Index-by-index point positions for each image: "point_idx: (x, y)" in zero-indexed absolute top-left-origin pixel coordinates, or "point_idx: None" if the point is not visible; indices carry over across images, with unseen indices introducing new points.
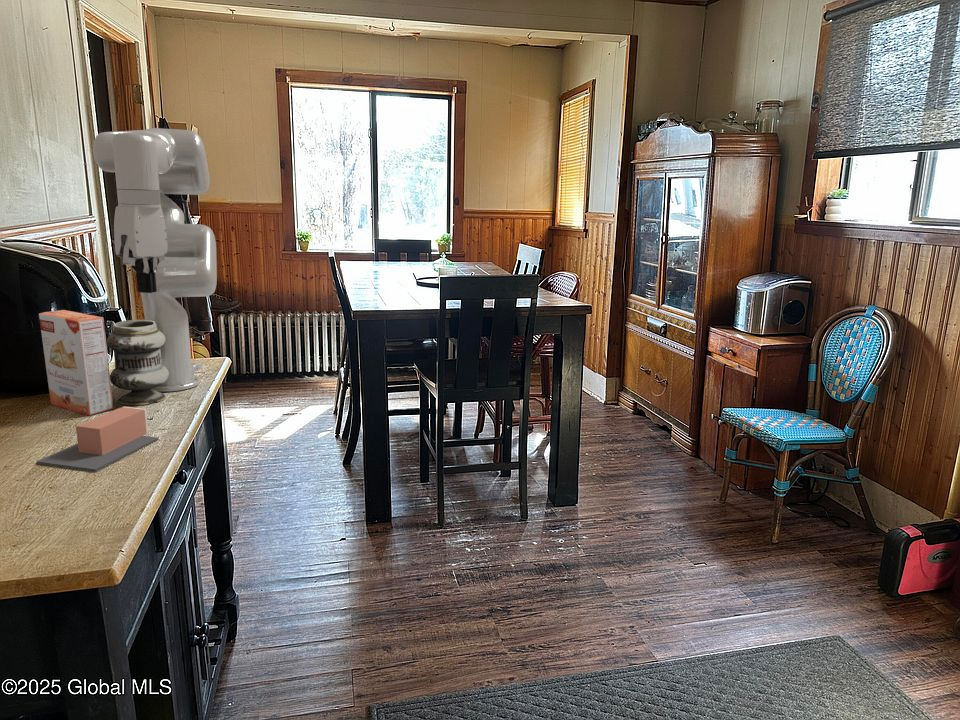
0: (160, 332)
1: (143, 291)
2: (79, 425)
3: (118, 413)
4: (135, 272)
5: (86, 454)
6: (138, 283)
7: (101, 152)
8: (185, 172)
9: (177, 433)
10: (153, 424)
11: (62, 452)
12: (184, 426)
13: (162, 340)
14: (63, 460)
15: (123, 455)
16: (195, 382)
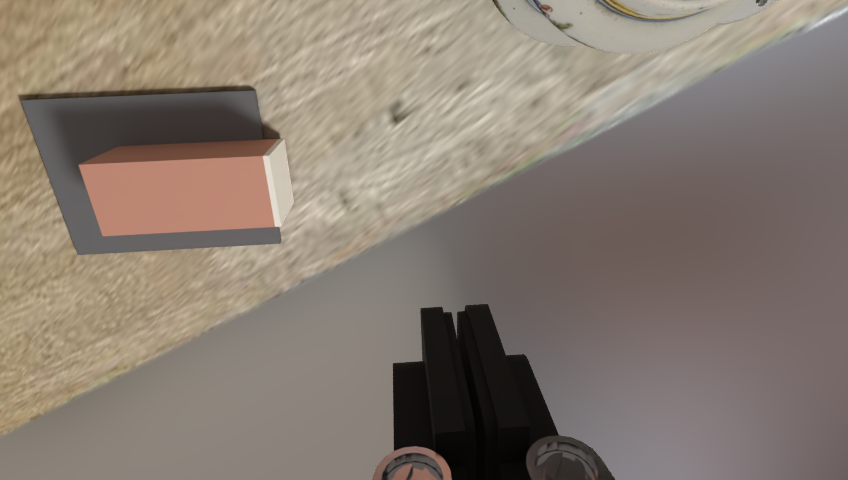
0: (722, 9)
1: (422, 353)
2: (88, 169)
3: (214, 188)
4: (394, 460)
5: None
6: (393, 390)
7: None
8: None
9: (335, 248)
10: (364, 154)
11: (92, 112)
12: (381, 232)
13: (662, 49)
14: (64, 156)
15: (162, 249)
16: (726, 23)
